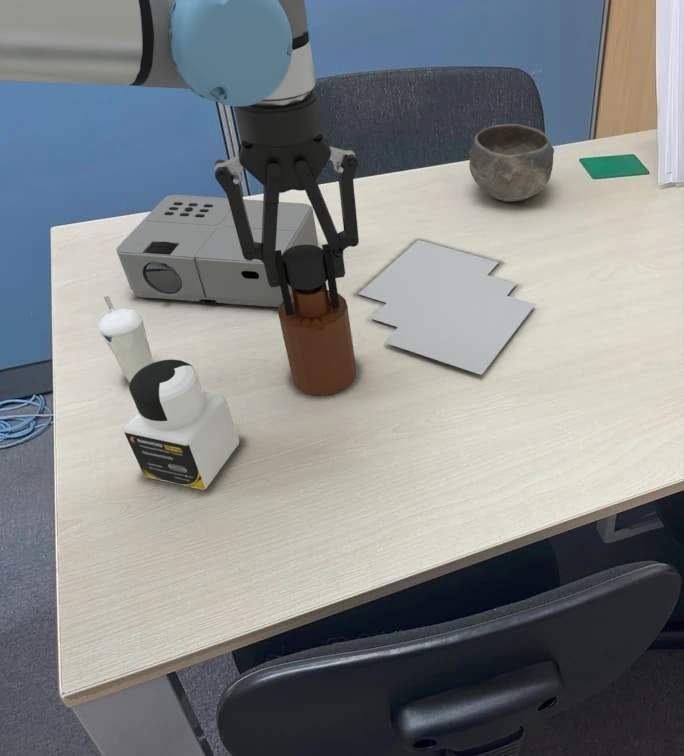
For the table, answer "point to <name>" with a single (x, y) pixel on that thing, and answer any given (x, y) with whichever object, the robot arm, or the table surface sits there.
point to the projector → (208, 251)
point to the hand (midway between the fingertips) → (311, 303)
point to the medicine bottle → (179, 425)
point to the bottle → (318, 342)
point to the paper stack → (447, 306)
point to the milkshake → (126, 339)
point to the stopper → (305, 268)
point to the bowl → (511, 161)
